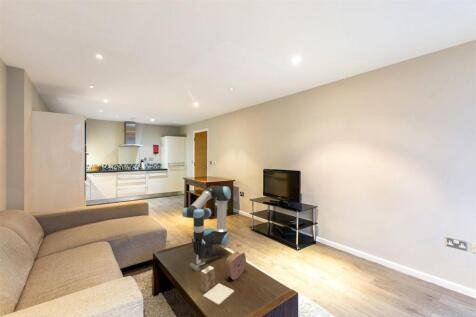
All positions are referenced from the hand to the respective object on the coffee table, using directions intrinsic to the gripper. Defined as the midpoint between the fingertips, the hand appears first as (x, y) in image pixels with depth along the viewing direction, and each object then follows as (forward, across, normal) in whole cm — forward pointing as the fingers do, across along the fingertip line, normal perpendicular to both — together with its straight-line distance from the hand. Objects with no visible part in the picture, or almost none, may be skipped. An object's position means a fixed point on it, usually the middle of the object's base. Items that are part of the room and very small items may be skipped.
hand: (198, 263), depth 151 cm
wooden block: (+15, +9, 0) cm, 18 cm away
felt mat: (+15, +19, 0) cm, 25 cm away
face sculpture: (+15, +16, +24) cm, 33 cm away
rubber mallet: (+16, -15, +25) cm, 33 cm away
